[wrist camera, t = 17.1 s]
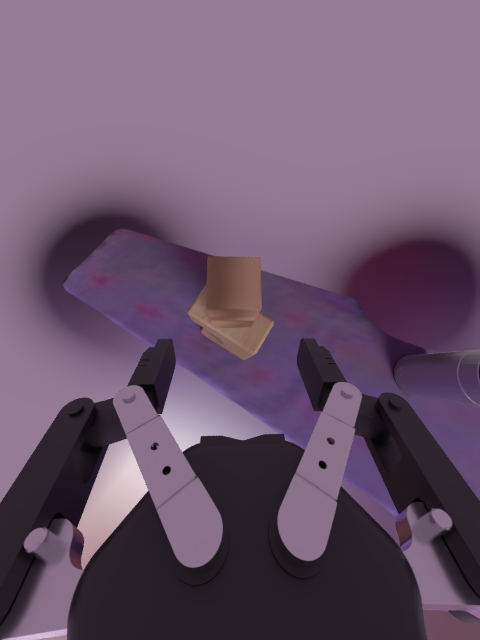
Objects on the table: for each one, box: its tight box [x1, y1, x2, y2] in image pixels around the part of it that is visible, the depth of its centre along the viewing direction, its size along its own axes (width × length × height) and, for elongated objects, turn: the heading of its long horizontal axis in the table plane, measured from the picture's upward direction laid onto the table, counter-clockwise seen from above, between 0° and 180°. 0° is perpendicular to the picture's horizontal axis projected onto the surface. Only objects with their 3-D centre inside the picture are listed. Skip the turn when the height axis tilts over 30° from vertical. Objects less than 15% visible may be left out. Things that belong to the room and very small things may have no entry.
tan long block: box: [206, 256, 262, 328], centre depth 25 cm, size 5×5×10 cm
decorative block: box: [187, 283, 274, 360], centre depth 40 cm, size 11×6×20 cm, turn 57°
